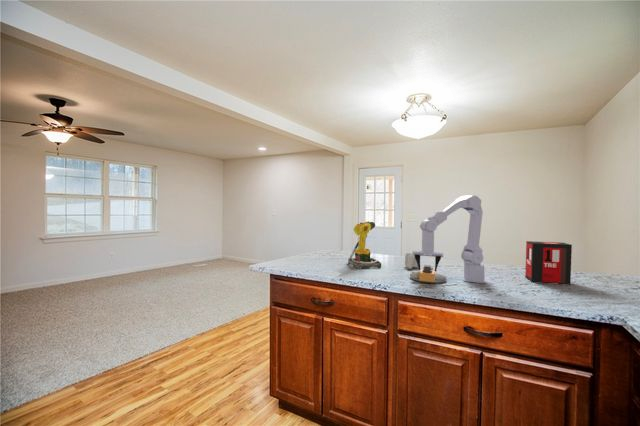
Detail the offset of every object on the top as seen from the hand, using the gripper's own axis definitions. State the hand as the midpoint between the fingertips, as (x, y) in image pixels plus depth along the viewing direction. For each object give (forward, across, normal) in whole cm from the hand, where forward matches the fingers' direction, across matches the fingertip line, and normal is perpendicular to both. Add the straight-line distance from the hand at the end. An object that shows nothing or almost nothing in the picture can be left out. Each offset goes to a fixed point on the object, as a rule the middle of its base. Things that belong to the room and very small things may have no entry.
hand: (427, 270), depth 152 cm
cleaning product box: (+6, +57, +27) cm, 63 cm away
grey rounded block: (+6, -11, +31) cm, 33 cm away
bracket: (+5, -2, 0) cm, 5 cm away
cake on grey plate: (+6, 0, +7) cm, 9 cm away
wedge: (+4, 0, 0) cm, 5 cm away
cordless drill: (+6, -39, +28) cm, 48 cm away
